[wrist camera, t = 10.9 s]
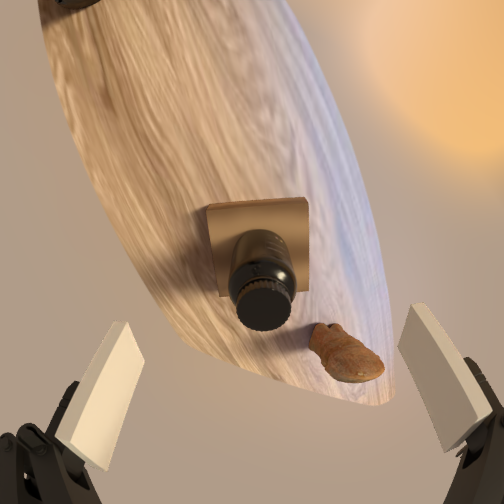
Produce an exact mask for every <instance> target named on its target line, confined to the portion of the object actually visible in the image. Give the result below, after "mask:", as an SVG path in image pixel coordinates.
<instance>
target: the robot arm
mask: <svg viewBox="0 0 504 504" xmlns="http://www.w3.org/2000/svg"><path fill="white" fill-rule="evenodd" d="M97 1H99V0H55V2H56V3H58V4H59V5H61V6H64V7H66V8H69V9H79V8H83V7H86V6H89V5H91V4H93V3H95V2H97ZM398 348H399V351H400V353H401V355H402V357H403V359H404V361H405V363H406V364H407V366H408V369H409V371H410V373H411V375H412V377H413V379H414V381H415V384H416V386H417V388H418V390H419V392H420V394H421V397H422V399H423V401H424V404H425V406H426V408H427V411H428V413H429V416H430V418H431V420H432V423H433V425H434V428H435V430H436V433H437V435H438V438H439V440H440V443H441V446H442V448H443V451H444V453H445V452H448V451H450V450H452V449H454V448H456V447H458V446H459V445H460V444H461V443H462V442H463V441H464V440H466V442H467V445H466V446H464V447H463V448H462V449H461V450H460V451H459V452H458V453H457V455H456V457H458V456H459V455H460V454H462V453H463V454H462V456H461V457H460V458H461V460H460V463H459V466H458V468H457V472H456V474H455V477H454V479H453V482H452V484H451V487H450V489H449V491H448V494H447V497H446V499H445V501H444V503H443V504H504V408H503V407H502V405H501V404H500V402H499V400H498V398H497V397H496V395H495V393H494V392H493V390H492V388H491V386H490V385H489V383H488V381H486V378H485V376H484V375H483V374H482V372H481V370H480V368H479V367H478V365H477V364H476V363H475V362H474V361H473V360H472V359H470V358H469V357H466V358H462V357H461V355H460V353H459V352H458V350H457V349H456V347H455V346H454V344H453V343H452V342H451V340H450V338H449V337H448V335H447V334H446V332H445V331H444V330H443V328H442V327H441V325H440V324H439V323H438V321H437V320H436V318H435V317H434V316H433V314H432V313H431V311H430V310H429V309H428V307H427V306H426V305H425V303H424V302H422V303H417V304H411V305H410V309H409V313H408V316H407V319H406V323H405V326H404V329H403V332H402V335H401V338H400V341H399V344H398ZM144 363H145V361H144V359H143V356H142V354H141V352H140V350H139V348H138V345H137V343H136V341H135V339H134V336H133V334H132V332H131V329H130V327H129V324H128V322H122V321H114V322H113V324H112V325H111V327H110V329H109V331H108V332H107V334H106V336H105V338H104V339H103V341H102V343H101V345H100V346H99V348H98V350H97V352H96V353H95V355H94V357H93V359H92V361H91V362H90V364H89V366H88V368H87V370H86V372H85V374H84V376H83V378H82V379H81V381H80V382H78V381H74V382H73V383H72V384H71V385H70V386H69V387H68V388H67V390H66V392H65V394H64V395H63V397H62V398H63V399H62V400H61V401H60V403H59V407H57V410H56V411H55V413H54V416H53V418H52V420H51V422H50V424H49V426H48V428H47V430H46V432H45V434H44V433H43V432H42V431H41V430H40V429H39V428H38V427H37V426H36V425H35V424H32V423H26V424H24V425H23V426H21V427H20V428H19V430H18V432H17V434H16V437H15V436H14V435H13V434H11V433H4V434H2V435H1V436H0V504H102V503H101V501H100V499H99V497H98V495H97V493H96V491H95V488H94V486H93V484H92V482H91V479H90V477H89V475H88V473H87V470H86V469H85V467H84V464H85V462H86V463H87V464H88V465H90V466H91V467H93V468H96V469H99V470H102V471H105V472H107V471H108V468H109V465H110V461H111V458H112V455H113V451H114V448H115V445H116V441H117V439H118V435H119V433H120V430H121V427H122V424H123V421H124V418H125V415H126V412H127V409H128V406H129V403H130V401H131V398H132V395H133V392H134V389H135V387H136V384H137V381H138V379H139V376H140V373H141V371H142V368H143V365H144ZM24 473H26V474H27V478H26V479H25V478H24Z"/></svg>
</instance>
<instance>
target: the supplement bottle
mask: <svg viewBox="0 0 504 504" xmlns="http://www.w3.org/2000/svg"><path fill="white" fill-rule="evenodd" d="M296 292H297V279H296V275H295V272H294V268H293V265H292V261H291V258H290V254H289V251H288V248H287V245H286V243H285V242H284V240H283V239H282V238H281V237H280V236H279V235H278V234H276V233H275V232H273V231H270V230H266V229H256V230H252V231H249V232H247V233H245V234H244V235H242V236H241V237H240V238H239V239H238V241H237V242H236V244H235V246H234V249H233V254H232V259H231V266H230V272H229V279H228V293H229V297H230V299H231V301H232V302H233V304H234V305H235V306H236V310H237V311H236V313H237V315H238V318H239V319H240V322H242V323H243V325H245V326H246V327H247V328H250V329H252V330H256V331H261V332H262V331H269V330H270V331H271V330H273V329H277V328H278V327H281V326H282V325H283V324H285V321H287V320H288V317H289V316H290V313H291V303H292V302H293V300H294V298H295V296H296Z"/></svg>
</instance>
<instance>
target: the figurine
mask: <svg viewBox="0 0 504 504" xmlns="http://www.w3.org/2000/svg"><path fill="white" fill-rule="evenodd" d="M309 349H310V350H311V351H314V352H315V353H316V354H317V355H318V356H319V357H320V359H321V364H322V365H323V366H324V367H325V370H326V371H327V373H329V374H330V376H331V377H333V378H334V379H335V380H337V381H341V382H345V383H362V382H366V381H370V380H373V379H375V378H377V377H379V376H380V375H381V374H382V373H383V372H384V370H385V367H384V364H383V362H382V361H381V360H380V357H379V356H378V355H376V354H375V353H374V352H373V351H371V350H370V349H368V348H366V347H365V346H364V345H363V343H362V342H360V341H359V340H357V339H355V338H354V337H352V336H350V335H348V334H347V333H346V332H345V331H344V330H343V328H342V327H341V325H339V324H333V325H332V326H331V327H330V328H328V327H327V326H326V325H325V324H324V323H320V324H317V325H316V326H315V328H314V330H313V333H312V336H311V339H310V342H309Z"/></svg>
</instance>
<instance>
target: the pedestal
mask: <svg viewBox="0 0 504 504" xmlns="http://www.w3.org/2000/svg"><path fill="white" fill-rule="evenodd" d="M206 216H207V222H208V229H209V236H210V243H211V249H212V255H213V262H214V268H215V274H216V280H217V286H218V292H219V297H227V296H229V293H228V279H229V272H230V266H231V259H232V254H233V249H234V246H235V244H236V242H237V241H238V239H239V238H240V237H241V236H242V235H244V234H245V233H247V232H249V231H252V230H256V229H266V230H270V231H273V232H275V233H276V234H278V235H279V236H280V237H281V238H282V239H283V240H284V242H285V243H286V245H287V248H288V251H289V254H290V258H291V261H292V265H293V268H294V272H295V275H296V279H297V292H302V291H309V206H308V202H307V200H306V199H305V197H295V198H279V199H264V200H251V201H239V202H227V203H216V204H210V205H209V206H208V208H207V210H206Z"/></svg>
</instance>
